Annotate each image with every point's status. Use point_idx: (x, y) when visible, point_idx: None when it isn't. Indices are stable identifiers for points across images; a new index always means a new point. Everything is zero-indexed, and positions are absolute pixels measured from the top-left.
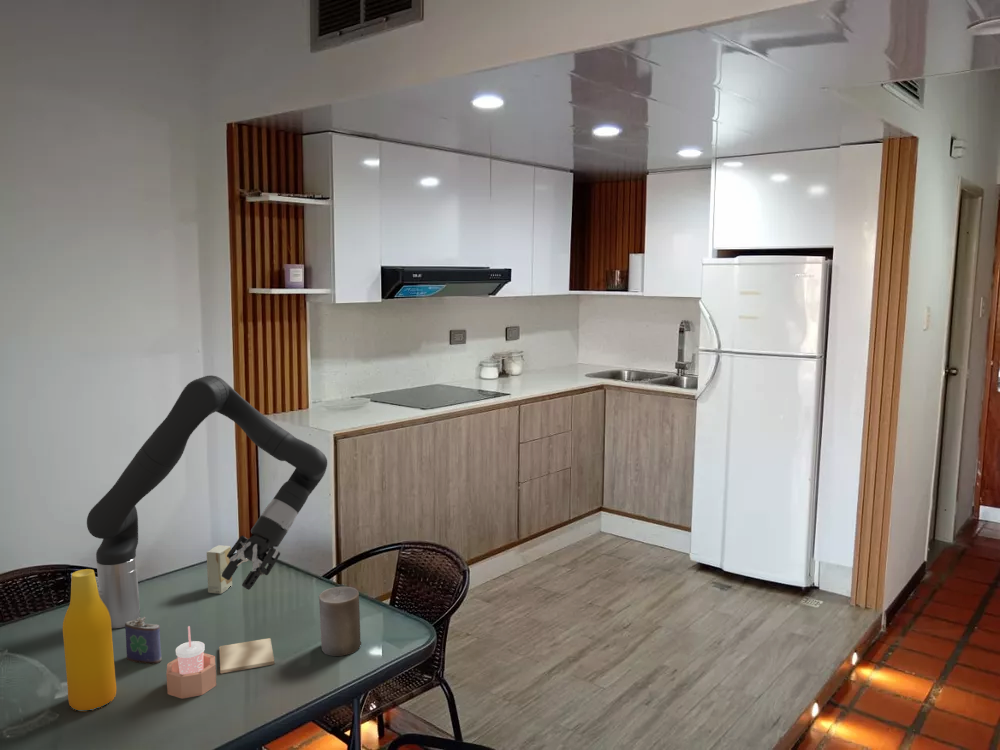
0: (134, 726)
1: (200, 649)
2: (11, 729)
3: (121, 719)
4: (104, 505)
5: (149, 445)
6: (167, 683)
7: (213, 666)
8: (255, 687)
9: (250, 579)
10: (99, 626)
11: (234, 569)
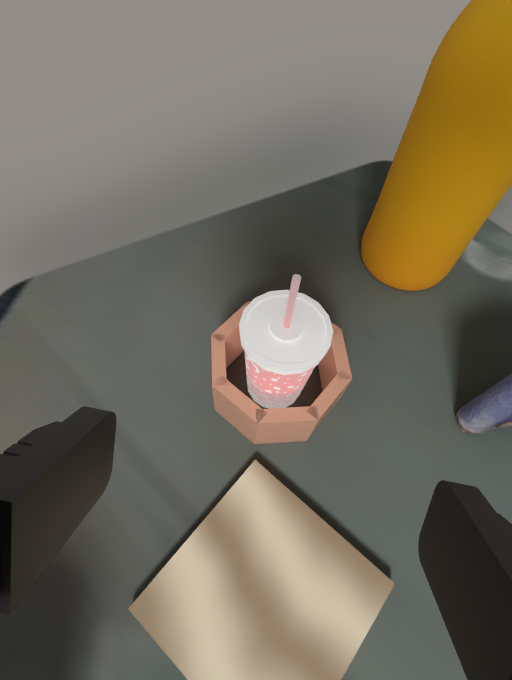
0: (247, 240)
1: (245, 333)
2: None
3: (290, 244)
4: None
5: None
6: None
7: (212, 380)
8: None
9: (15, 453)
10: (437, 62)
11: (471, 647)
